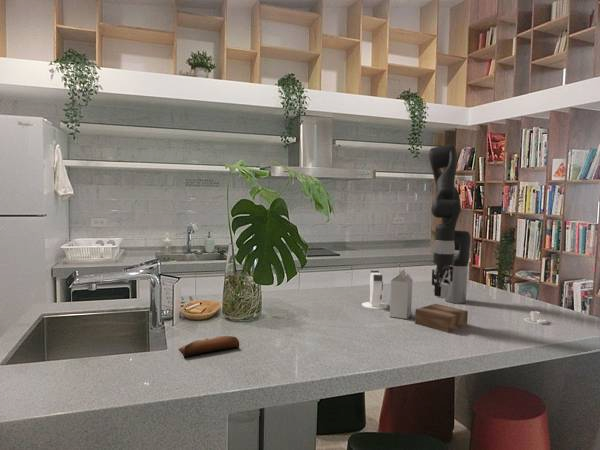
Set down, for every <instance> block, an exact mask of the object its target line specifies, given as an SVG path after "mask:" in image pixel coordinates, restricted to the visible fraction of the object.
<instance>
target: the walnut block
mask: <svg viewBox="0 0 600 450" xmlns="http://www.w3.org/2000/svg"><path fill="white" fill-rule="evenodd" d="M414 313H415V315H414V316H415V317H414V324H415V325H419V326H422V327H424V328H425V327H426V328H430V329H432V330H436V331H440V332H443V333H451V332H453V331H456V330H460V329H463V328H465V327H467V326H468V317H469V316H468V315H469V311H468V310H464V309H460V308H456V307H451V306H447V305H443V304H438V303H433V304H430V305H426V306H422V307H418V308H416V309H415V312H414Z"/></svg>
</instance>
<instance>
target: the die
mask: <svg viewBox="0 0 600 450" xmlns="http://www.w3.org/2000/svg"><path fill="white" fill-rule="evenodd" d="M432 293H433V295H434V294H435V286H434V285H433V287H432ZM450 295H451V287H450V285H449V284H447V283H443V282H442V285H441V296H439V297H438V296H435V295H434V296H435V298H438V299H445V298H448V297H449V296H450Z"/></svg>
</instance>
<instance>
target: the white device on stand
mask: <svg viewBox="0 0 600 450" xmlns="http://www.w3.org/2000/svg"><path fill="white" fill-rule="evenodd" d="M383 284H384V283H383V274H382V273H380V271H379V270H370V277H369V301H366V302H362V303H361V307H363V308H365V309H369V310H370V309H371V310H385V309H387V308H388V307H389V305H388V304H386V303H384V302H381V301H382V299H383V298H382V297H383V296H382V291H383V290H384V285H383Z"/></svg>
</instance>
